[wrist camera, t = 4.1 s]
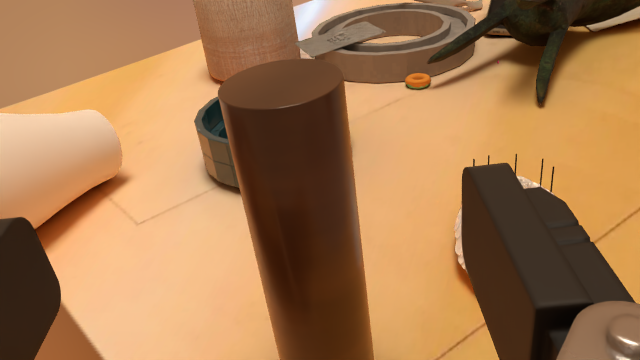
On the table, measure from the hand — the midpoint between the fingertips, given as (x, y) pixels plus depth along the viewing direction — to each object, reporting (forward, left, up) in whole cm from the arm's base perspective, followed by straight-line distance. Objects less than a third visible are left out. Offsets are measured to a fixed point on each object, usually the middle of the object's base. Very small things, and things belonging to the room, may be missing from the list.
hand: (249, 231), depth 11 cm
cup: (+29, -26, -14) cm, 42 cm away
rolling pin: (+3, -10, -17) cm, 20 cm away
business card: (+15, -50, -14) cm, 54 cm away
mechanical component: (+10, -56, -17) cm, 59 cm away
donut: (+3, -48, -16) cm, 51 cm away
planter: (+26, -50, -17) cm, 59 cm away
